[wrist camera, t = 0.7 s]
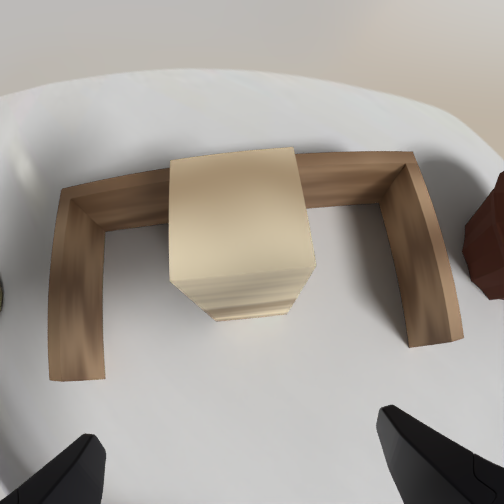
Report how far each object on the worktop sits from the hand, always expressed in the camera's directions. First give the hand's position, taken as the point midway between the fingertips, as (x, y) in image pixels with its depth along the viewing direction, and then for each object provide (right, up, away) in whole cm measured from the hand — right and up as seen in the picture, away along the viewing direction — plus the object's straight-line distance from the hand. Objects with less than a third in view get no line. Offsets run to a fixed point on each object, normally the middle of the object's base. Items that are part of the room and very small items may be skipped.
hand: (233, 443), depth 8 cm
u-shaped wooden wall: (0, +3, +15) cm, 15 cm away
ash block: (0, +3, +15) cm, 15 cm away
